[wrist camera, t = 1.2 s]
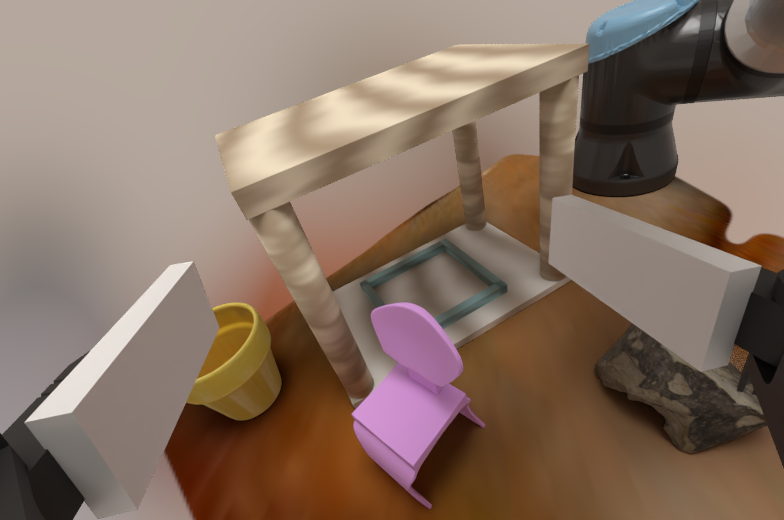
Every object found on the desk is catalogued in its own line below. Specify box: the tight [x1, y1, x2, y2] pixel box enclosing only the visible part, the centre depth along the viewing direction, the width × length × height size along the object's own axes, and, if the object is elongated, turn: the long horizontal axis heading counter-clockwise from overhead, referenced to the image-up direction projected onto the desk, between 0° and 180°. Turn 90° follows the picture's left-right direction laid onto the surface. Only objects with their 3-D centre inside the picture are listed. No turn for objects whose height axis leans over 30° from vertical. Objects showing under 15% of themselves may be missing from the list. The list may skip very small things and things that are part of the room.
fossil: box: [595, 323, 767, 453], centre depth 29 cm, size 11×9×10 cm
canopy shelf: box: [215, 44, 589, 410], centre depth 39 cm, size 29×18×25 cm, turn 117°
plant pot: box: [186, 303, 282, 421], centre depth 39 cm, size 10×10×10 cm
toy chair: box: [351, 302, 485, 509], centre depth 28 cm, size 8×9×15 cm
